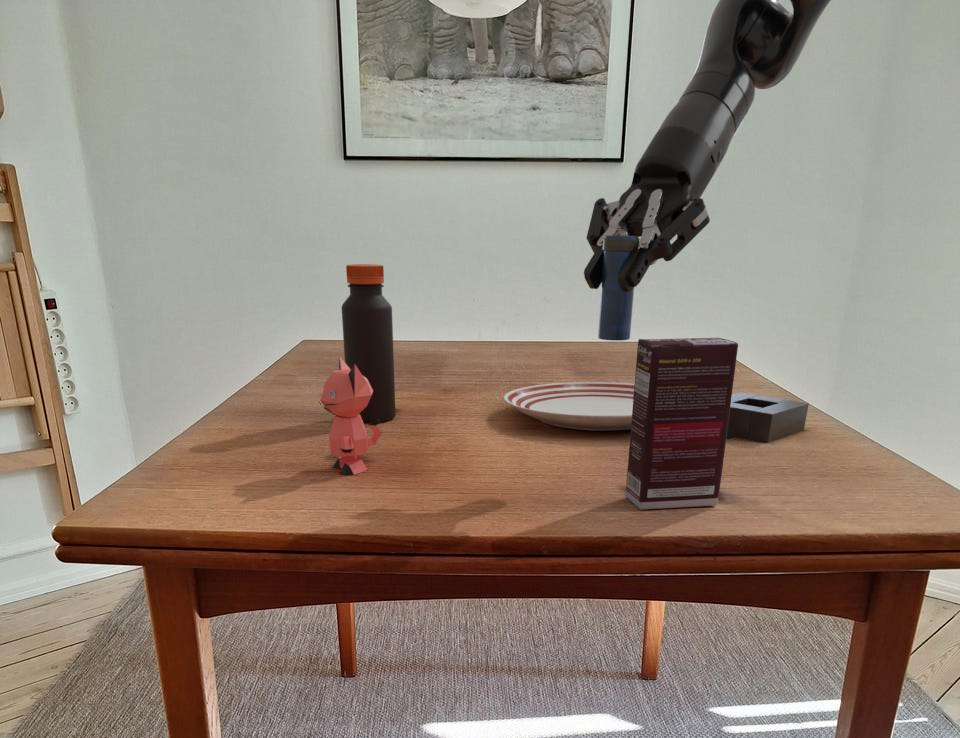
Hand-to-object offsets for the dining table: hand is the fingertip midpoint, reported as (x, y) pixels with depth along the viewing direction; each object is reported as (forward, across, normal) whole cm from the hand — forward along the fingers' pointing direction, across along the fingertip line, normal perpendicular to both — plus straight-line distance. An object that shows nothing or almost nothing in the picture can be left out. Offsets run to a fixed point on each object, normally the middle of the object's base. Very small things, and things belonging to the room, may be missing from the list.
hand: (607, 283), depth 87 cm
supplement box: (+16, +12, +12) cm, 24 cm away
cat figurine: (+27, -20, +1) cm, 34 cm away
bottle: (+15, -39, +14) cm, 44 cm away
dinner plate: (-2, -17, +31) cm, 35 cm away
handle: (+3, 0, +5) cm, 6 cm away
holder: (-7, +4, +35) cm, 36 cm away
